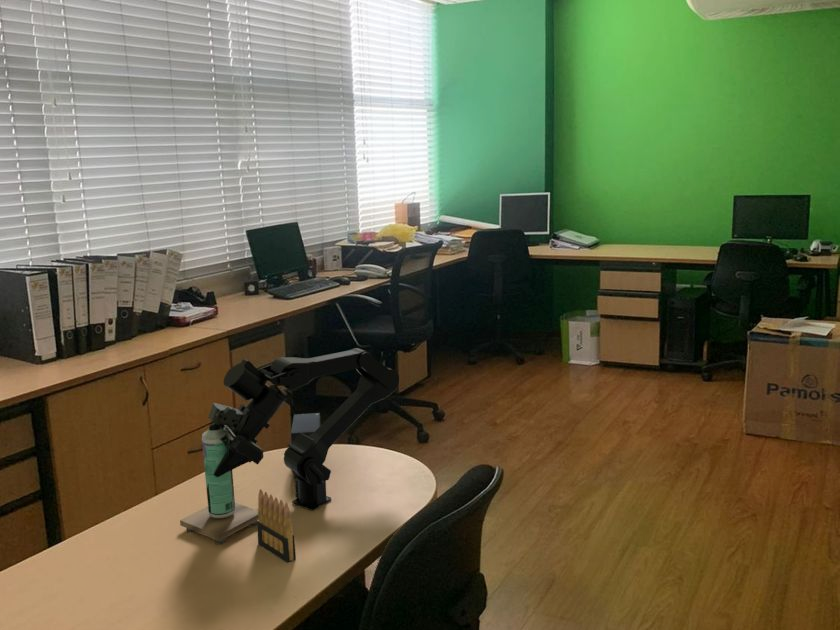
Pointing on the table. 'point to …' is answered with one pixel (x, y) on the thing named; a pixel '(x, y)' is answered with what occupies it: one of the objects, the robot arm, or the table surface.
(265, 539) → the ammunition clip
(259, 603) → the table surface
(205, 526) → the flat square brown plate
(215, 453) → the spray can
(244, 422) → the robot arm
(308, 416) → the small box
